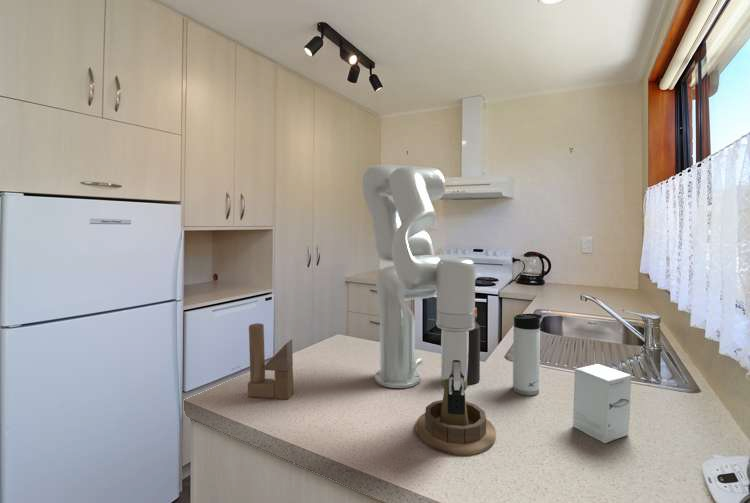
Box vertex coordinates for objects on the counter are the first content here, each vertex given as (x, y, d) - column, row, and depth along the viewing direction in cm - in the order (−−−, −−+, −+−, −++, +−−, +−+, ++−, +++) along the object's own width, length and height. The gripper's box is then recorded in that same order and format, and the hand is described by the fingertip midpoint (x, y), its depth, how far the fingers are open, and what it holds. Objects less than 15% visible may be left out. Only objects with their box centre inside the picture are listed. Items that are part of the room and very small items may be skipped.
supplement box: (605, 445, 72) (607, 380, 71) (571, 426, 79) (573, 367, 78) (630, 436, 75) (632, 374, 74) (595, 419, 82) (597, 362, 81)
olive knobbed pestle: (471, 422, 79) (472, 371, 78) (465, 436, 73) (466, 382, 72) (443, 416, 81) (443, 366, 80) (435, 429, 76) (435, 376, 75)
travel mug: (538, 398, 92) (539, 317, 90) (510, 392, 95) (511, 314, 94) (542, 388, 97) (543, 312, 96) (515, 383, 100) (516, 309, 99)
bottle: (449, 379, 103) (450, 308, 102) (462, 372, 108) (462, 304, 107) (472, 386, 98) (472, 311, 97) (484, 379, 103) (484, 307, 102)
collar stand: (440, 405, 88) (440, 389, 88) (507, 428, 78) (508, 409, 78) (400, 434, 76) (400, 415, 76) (474, 466, 66) (474, 444, 65)
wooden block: (288, 400, 92) (286, 328, 91) (247, 397, 93) (245, 326, 92) (293, 393, 95) (292, 324, 94) (254, 391, 97) (252, 322, 96)
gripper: (437, 309, 85) (436, 383, 86) (436, 330, 68) (436, 422, 69) (471, 310, 83) (470, 385, 84) (479, 332, 66) (478, 425, 67)
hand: (455, 401), depth 76 cm, fingers open, 9 cm apart
